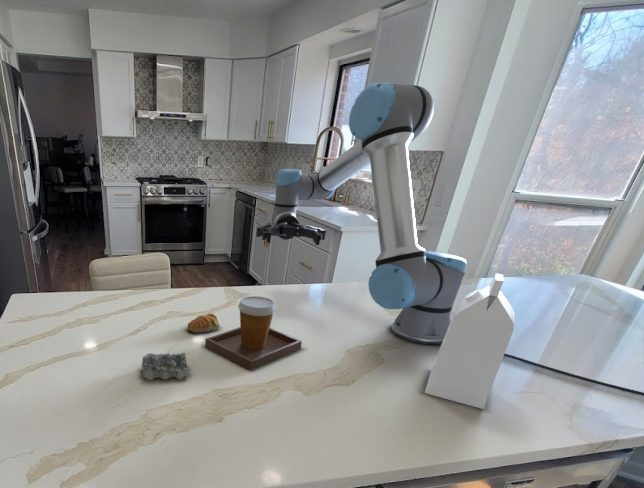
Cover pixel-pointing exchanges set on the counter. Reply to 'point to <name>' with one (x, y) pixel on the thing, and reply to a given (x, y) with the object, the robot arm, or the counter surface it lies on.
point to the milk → (473, 347)
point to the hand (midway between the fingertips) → (293, 239)
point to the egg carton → (164, 366)
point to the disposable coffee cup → (255, 320)
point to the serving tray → (249, 358)
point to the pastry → (204, 323)
